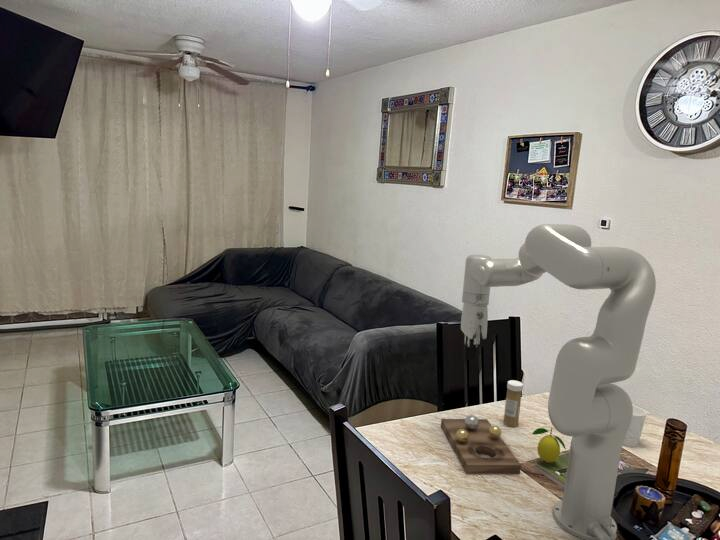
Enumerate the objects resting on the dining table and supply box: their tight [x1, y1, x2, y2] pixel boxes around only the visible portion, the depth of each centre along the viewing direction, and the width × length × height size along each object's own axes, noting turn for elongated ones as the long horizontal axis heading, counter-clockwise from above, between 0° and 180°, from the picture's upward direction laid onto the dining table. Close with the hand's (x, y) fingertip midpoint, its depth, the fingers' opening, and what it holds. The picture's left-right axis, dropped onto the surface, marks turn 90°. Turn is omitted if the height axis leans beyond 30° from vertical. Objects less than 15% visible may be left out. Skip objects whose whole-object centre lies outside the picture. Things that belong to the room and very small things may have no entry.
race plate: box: [440, 418, 522, 475], centre depth 133 cm, size 24×14×2 cm, turn 6°
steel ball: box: [464, 414, 479, 430], centre depth 138 cm, size 4×4×4 cm
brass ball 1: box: [456, 429, 469, 443], centre depth 131 cm, size 4×4×4 cm
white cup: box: [623, 404, 647, 448], centre depth 142 cm, size 8×8×10 cm
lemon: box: [531, 427, 567, 464], centre depth 127 cm, size 7×6×10 cm
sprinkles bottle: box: [502, 379, 524, 428], centre depth 148 cm, size 5×5×14 cm
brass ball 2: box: [488, 425, 502, 439], centre depth 134 cm, size 4×4×4 cm
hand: (469, 358), depth 143 cm, fingers closed
